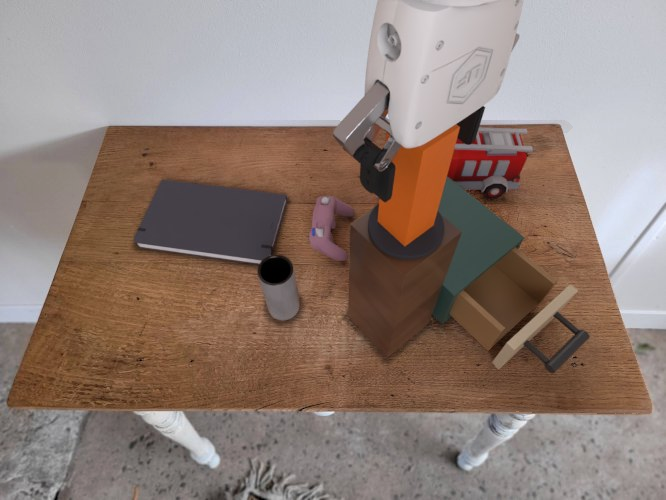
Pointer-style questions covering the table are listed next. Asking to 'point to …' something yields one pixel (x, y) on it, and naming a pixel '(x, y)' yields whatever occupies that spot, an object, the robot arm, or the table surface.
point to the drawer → (515, 309)
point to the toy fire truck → (490, 161)
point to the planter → (279, 286)
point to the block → (417, 186)
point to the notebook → (212, 221)
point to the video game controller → (328, 226)
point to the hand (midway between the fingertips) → (418, 161)
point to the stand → (394, 286)
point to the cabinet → (471, 243)
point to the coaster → (414, 249)
